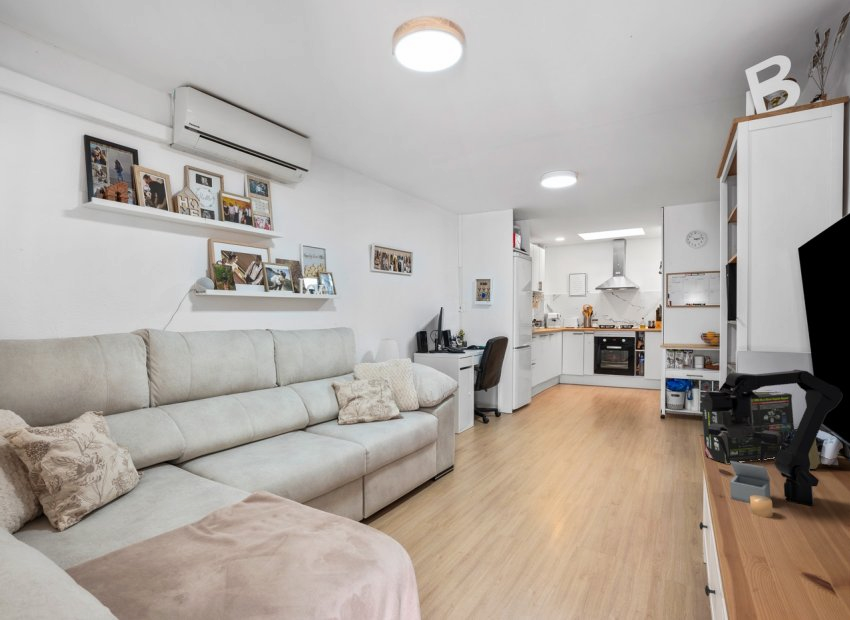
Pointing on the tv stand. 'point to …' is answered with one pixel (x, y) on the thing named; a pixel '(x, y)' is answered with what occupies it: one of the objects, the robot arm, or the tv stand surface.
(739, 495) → the box
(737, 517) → the tv stand surface
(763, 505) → the tan cylinder grey end
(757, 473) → the box lid
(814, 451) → the squeeze bottle
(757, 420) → the router box
